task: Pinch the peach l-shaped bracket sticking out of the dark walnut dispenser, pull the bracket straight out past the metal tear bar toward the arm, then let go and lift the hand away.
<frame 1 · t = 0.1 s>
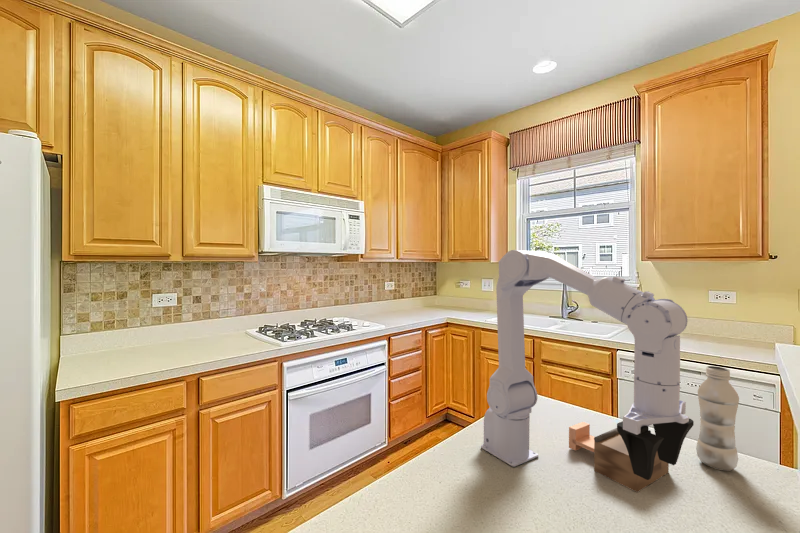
hand: (655, 468, 56), 10 cm above the countertop, tool pointing down, fingers open, 7 cm apart
plastic bottle: (716, 467, 76), on the countertop
peach l-shaped bracket: (606, 447, 78), point 3 cm above the countertop, slide at 0.0 cm
dispenser: (631, 471, 73), on the countertop
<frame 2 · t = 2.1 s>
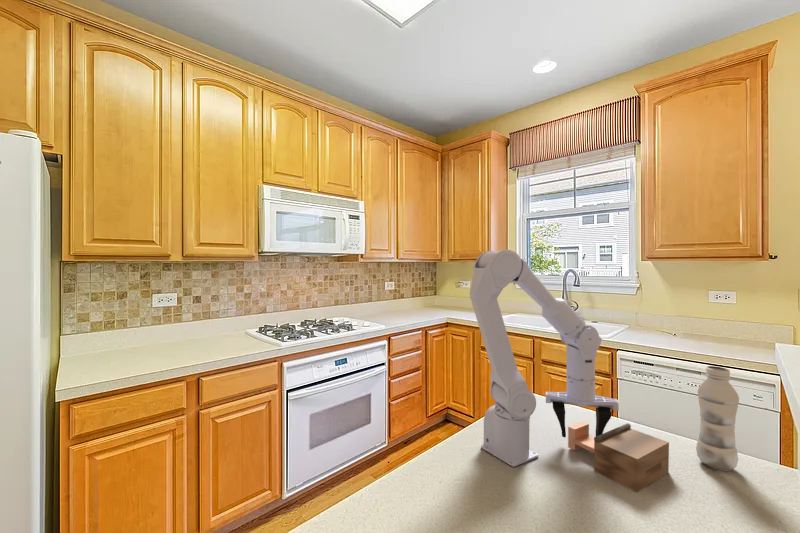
hand: (580, 437, 83), 2 cm above the countertop, tool pointing down, fingers open, 6 cm apart
peach l-shaped bracket: (605, 447, 78), point 3 cm above the countertop, slide at 0.2 cm, touching gripper
everything else where it was.
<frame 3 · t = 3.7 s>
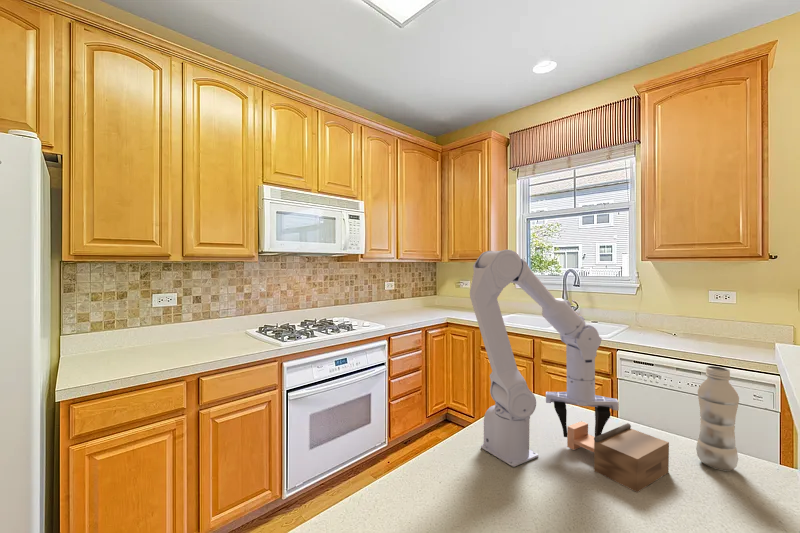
hand: (580, 437, 83), 2 cm above the countertop, tool pointing down, fingers closed on peach l-shaped bracket, 6 cm apart
peach l-shaped bracket: (604, 446, 78), point 3 cm above the countertop, slide at 0.4 cm, touching gripper
everything else where it was.
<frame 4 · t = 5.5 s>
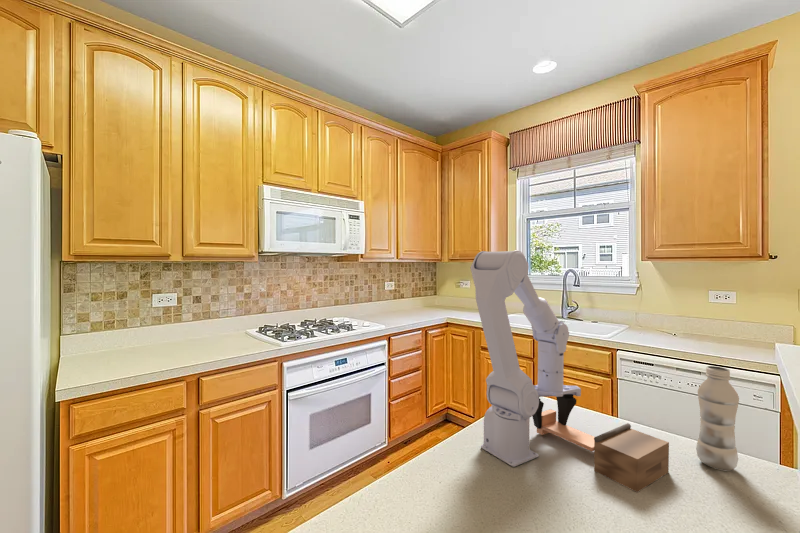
hand: (550, 426, 89), 2 cm above the countertop, tool pointing down, fingers closed on peach l-shaped bracket, 6 cm apart
peach l-shaped bracket: (569, 431, 85), point 3 cm above the countertop, slide at 8.5 cm, touching gripper
everything else where it was.
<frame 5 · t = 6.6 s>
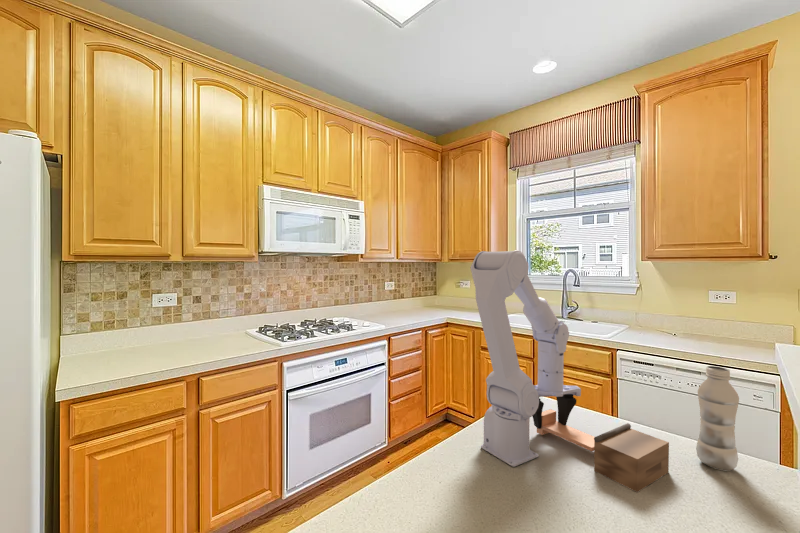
hand: (550, 426, 89), 2 cm above the countertop, tool pointing down, fingers closed on peach l-shaped bracket, 6 cm apart
peach l-shaped bracket: (569, 431, 85), point 3 cm above the countertop, slide at 8.5 cm, touching gripper
everything else where it was.
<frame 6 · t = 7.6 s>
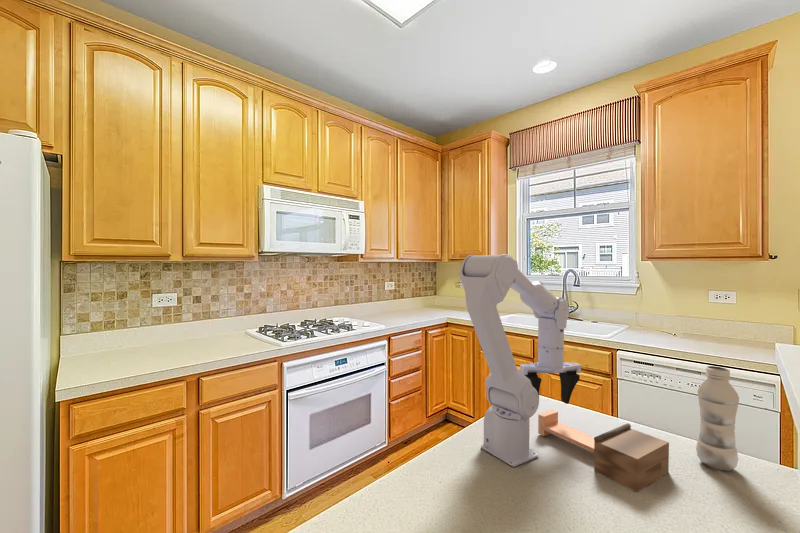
hand: (550, 402, 89), 8 cm above the countertop, tool pointing down, fingers open, 7 cm apart
peach l-shaped bracket: (571, 432, 84), point 3 cm above the countertop, slide at 8.1 cm
everything else where it was.
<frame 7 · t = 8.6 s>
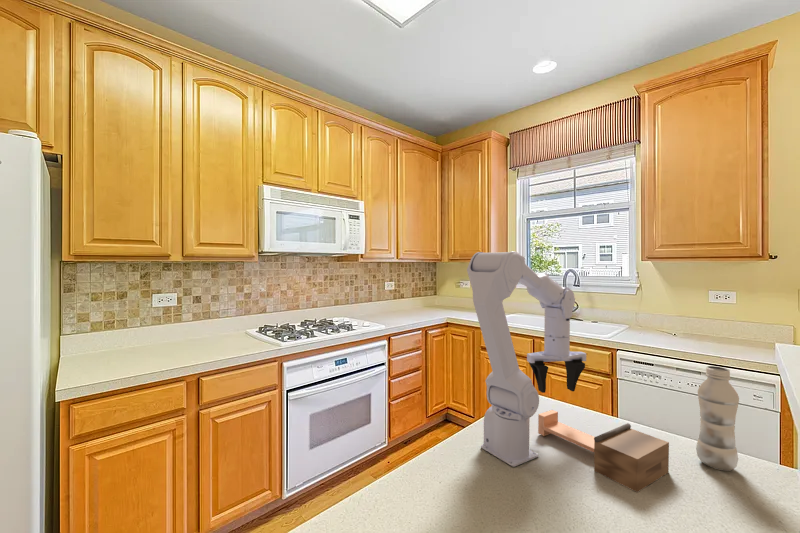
hand: (556, 390, 91), 10 cm above the countertop, tool pointing down, fingers open, 7 cm apart
nothing on the countertop moved.
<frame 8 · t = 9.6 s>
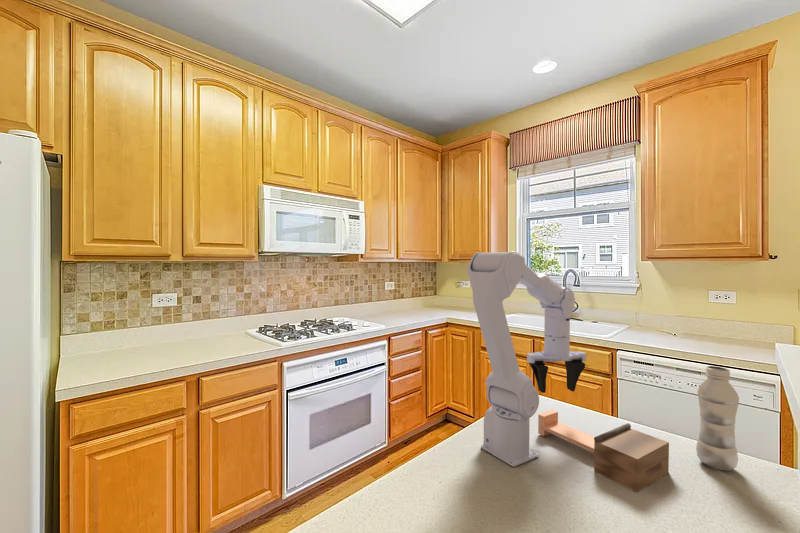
hand: (556, 390, 91), 10 cm above the countertop, tool pointing down, fingers open, 7 cm apart
nothing on the countertop moved.
at the end: peach l-shaped bracket slide at 8.1 cm; the gripper is holding nothing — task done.
